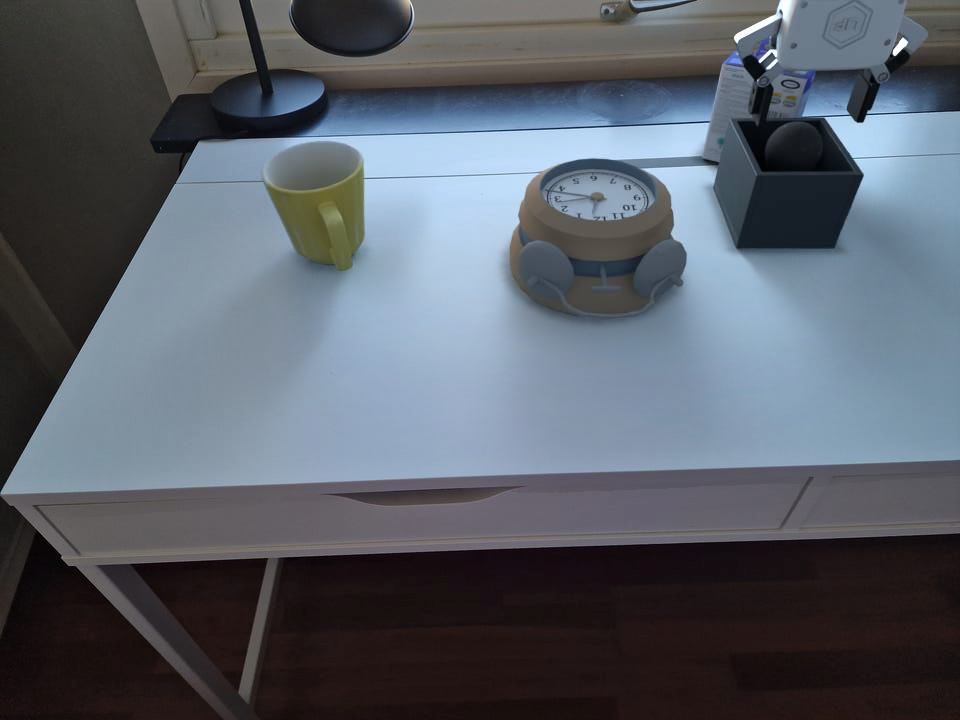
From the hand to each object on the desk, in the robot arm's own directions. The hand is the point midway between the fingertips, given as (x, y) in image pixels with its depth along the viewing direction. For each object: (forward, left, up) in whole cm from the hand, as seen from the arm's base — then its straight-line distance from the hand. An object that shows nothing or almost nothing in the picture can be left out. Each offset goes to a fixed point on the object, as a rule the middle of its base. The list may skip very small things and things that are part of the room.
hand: (805, 118), depth 70 cm
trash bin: (+1, 0, -12) cm, 12 cm away
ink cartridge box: (0, -13, -12) cm, 17 cm away
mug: (+50, +8, -12) cm, 52 cm away
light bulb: (0, 0, -11) cm, 11 cm away
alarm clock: (+22, +12, -12) cm, 27 cm away
